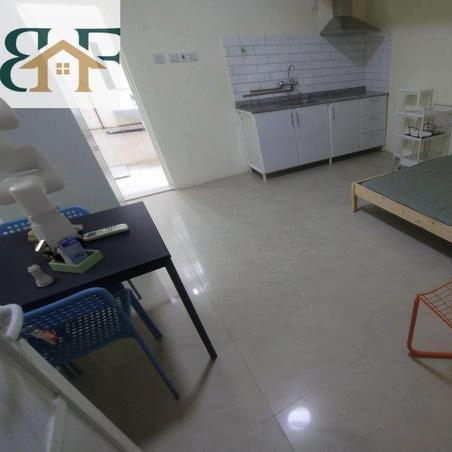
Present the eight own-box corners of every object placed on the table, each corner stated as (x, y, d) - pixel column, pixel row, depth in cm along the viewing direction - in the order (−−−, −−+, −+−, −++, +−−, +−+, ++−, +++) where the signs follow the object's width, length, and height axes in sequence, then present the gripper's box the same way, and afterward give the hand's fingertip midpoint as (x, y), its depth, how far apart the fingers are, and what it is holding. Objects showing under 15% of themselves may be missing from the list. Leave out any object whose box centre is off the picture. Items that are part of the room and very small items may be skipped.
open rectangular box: (53, 270, 108) (48, 263, 106) (76, 255, 116) (71, 248, 114) (82, 273, 106) (77, 266, 104) (104, 257, 114) (99, 250, 112)
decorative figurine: (39, 259, 115) (15, 229, 106) (61, 247, 121) (39, 218, 113) (56, 262, 112) (31, 232, 104) (76, 250, 119) (55, 220, 110)
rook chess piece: (35, 286, 101) (20, 269, 97) (49, 277, 105) (36, 261, 100) (42, 288, 100) (28, 272, 95) (56, 280, 103) (43, 264, 99)
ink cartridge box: (93, 261, 111) (73, 231, 103) (78, 270, 107) (55, 239, 99) (80, 255, 115) (59, 226, 107) (64, 263, 110) (41, 233, 102)
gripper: (60, 203, 106) (84, 240, 116) (8, 228, 92) (41, 268, 102) (76, 204, 105) (99, 241, 115) (26, 230, 91) (58, 270, 100)
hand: (72, 253), depth 108 cm, fingers open, 8 cm apart
